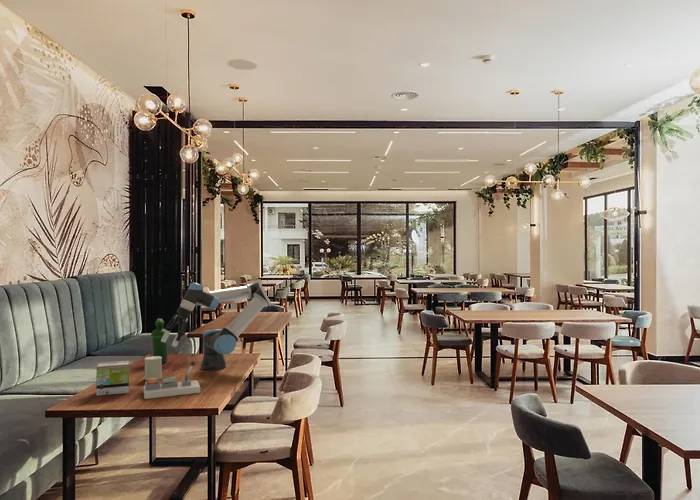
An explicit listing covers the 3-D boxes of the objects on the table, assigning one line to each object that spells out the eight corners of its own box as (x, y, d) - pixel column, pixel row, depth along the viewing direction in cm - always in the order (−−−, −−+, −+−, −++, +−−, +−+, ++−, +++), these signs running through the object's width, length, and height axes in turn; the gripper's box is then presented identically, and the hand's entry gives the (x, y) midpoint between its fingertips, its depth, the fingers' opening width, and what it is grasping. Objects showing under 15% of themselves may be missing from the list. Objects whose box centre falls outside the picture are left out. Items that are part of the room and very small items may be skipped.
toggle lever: (187, 380, 261) (195, 361, 263) (187, 381, 259) (196, 362, 261) (183, 378, 261) (191, 360, 262) (183, 379, 258) (192, 361, 260)
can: (156, 380, 281) (155, 358, 281) (141, 380, 283) (140, 358, 283) (165, 376, 290) (165, 355, 290) (150, 376, 292) (150, 355, 292)
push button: (157, 383, 257) (157, 377, 257) (157, 385, 252) (157, 379, 252) (147, 384, 255) (147, 378, 255) (147, 386, 250) (147, 380, 250)
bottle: (162, 360, 335) (162, 317, 335) (172, 362, 328) (171, 318, 328) (147, 363, 326) (147, 319, 326) (157, 365, 320) (157, 320, 320)
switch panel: (196, 385, 269) (196, 374, 269) (200, 392, 256) (200, 380, 256) (143, 391, 258) (143, 380, 258) (144, 399, 245) (144, 386, 245)
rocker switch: (175, 378, 260) (175, 375, 260) (176, 379, 256) (175, 377, 256) (163, 381, 257) (162, 379, 257) (163, 383, 254) (163, 380, 254)
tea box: (96, 396, 250) (95, 366, 251) (97, 391, 260) (96, 362, 260) (129, 393, 256) (129, 363, 257) (129, 388, 266) (129, 359, 266)
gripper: (170, 303, 295) (152, 337, 289) (190, 309, 277) (172, 345, 271) (181, 308, 300) (164, 342, 294) (201, 314, 282) (184, 350, 276)
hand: (168, 344), depth 283 cm, fingers open, 13 cm apart
